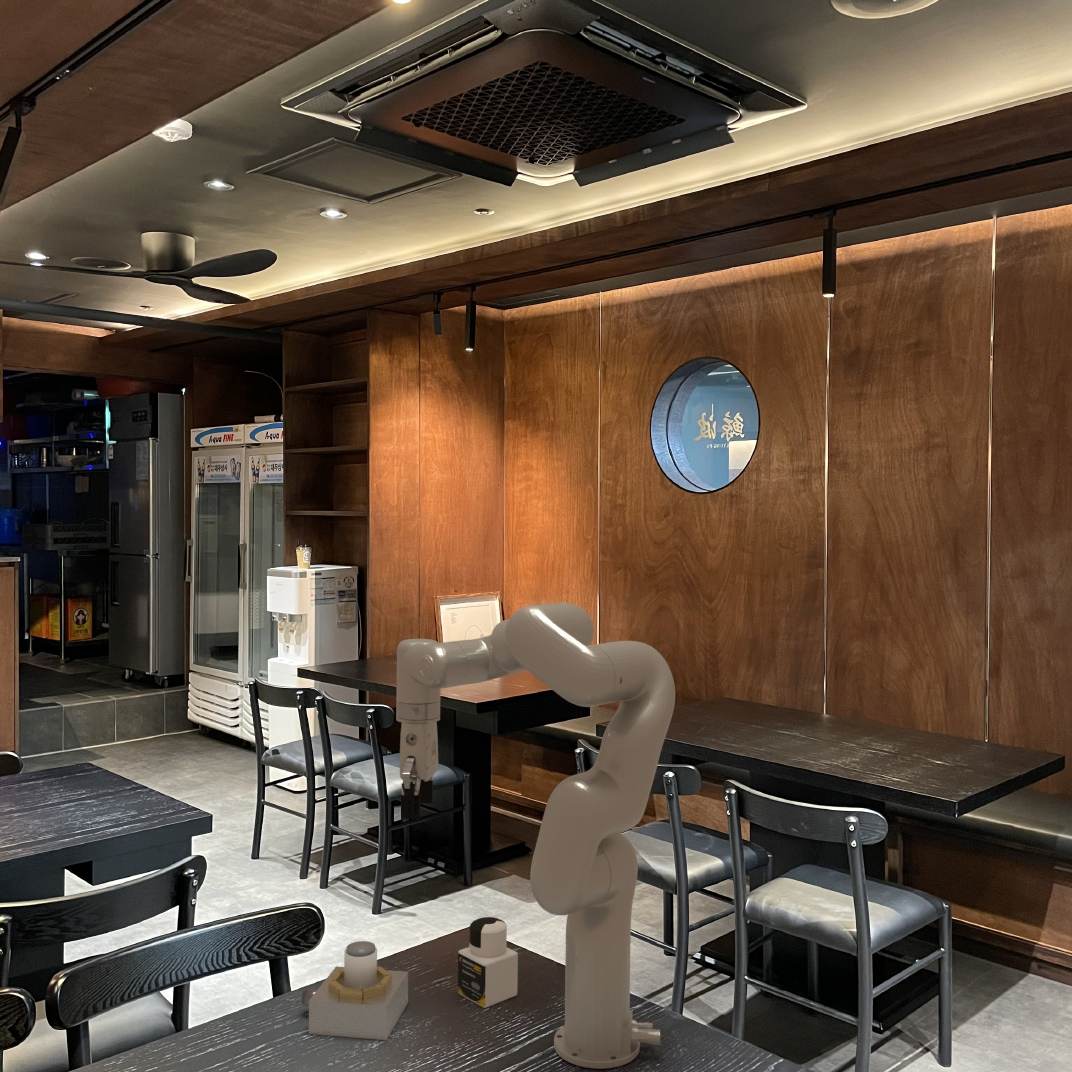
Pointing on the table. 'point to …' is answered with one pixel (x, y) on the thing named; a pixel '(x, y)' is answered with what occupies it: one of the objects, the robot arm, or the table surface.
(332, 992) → the block
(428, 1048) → the table surface
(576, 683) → the robot arm
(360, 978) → the short grey cylinder
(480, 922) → the medicine bottle
